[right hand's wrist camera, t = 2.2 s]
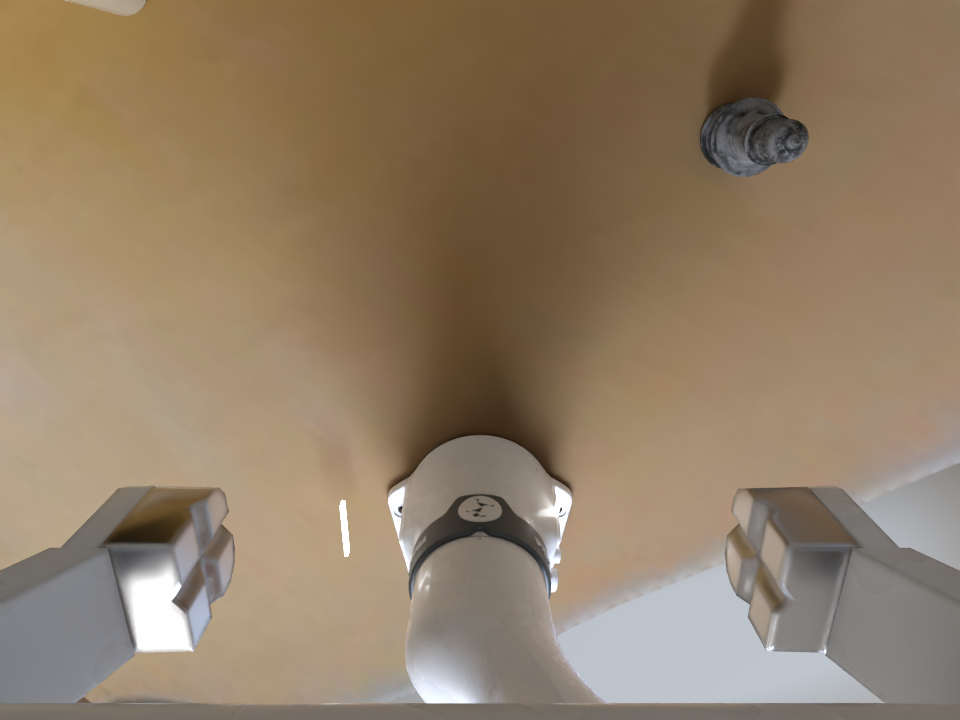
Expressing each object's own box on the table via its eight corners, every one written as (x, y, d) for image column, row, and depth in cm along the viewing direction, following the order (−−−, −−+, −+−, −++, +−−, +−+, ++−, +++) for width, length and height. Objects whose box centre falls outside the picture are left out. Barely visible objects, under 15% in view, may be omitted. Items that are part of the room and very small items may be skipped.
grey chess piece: (682, 144, 54) (735, 152, 42) (731, 82, 52) (800, 74, 41) (732, 187, 55) (797, 206, 44) (782, 128, 53) (863, 132, 42)
